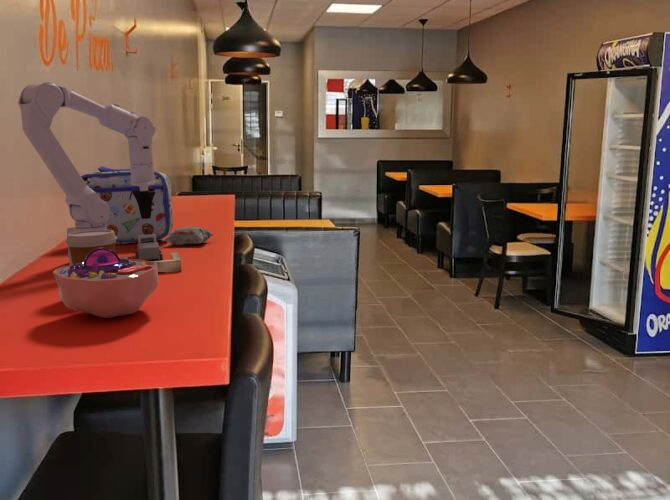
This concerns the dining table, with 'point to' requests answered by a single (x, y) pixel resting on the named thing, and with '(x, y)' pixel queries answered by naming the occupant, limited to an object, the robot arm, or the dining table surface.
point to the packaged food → (188, 236)
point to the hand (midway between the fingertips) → (145, 217)
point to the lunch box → (132, 205)
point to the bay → (167, 263)
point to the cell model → (106, 284)
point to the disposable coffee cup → (89, 243)
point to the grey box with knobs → (148, 249)
